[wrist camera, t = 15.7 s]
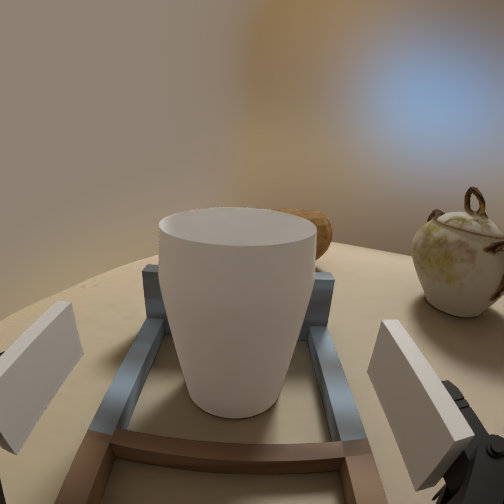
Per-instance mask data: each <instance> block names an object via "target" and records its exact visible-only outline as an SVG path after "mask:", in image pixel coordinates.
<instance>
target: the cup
mask: <svg viewBox="0 0 504 504" xmlns="http://www.w3.org/2000/svg"><path fill="white" fill-rule="evenodd" d="M316 236H317V228H316V226H315V225H314V224H313V223H312V222H311V221H309V220H307V219H305V218H302V217H299V216H296V215H293V214H289V213H285V212H280V211H274V210H266V209H257V208H245V207H243V208H242V207H216V208H215V207H213V208H201V209H193V210H187V211H182V212H178V213H175V214H172V215H169V216H167V217H165V218H163V219H162V220H161V221H160V223H159V267H158V277H159V284H160V289H161V293H162V297H163V302H164V306H165V310H166V314H167V318H168V322H169V326H170V329H171V333H172V337H173V341H174V344H175V348H176V352H177V355H178V359H179V362H180V366H181V369H182V372H183V376H184V379H185V382H186V385H187V389H188V392H189V395H190V397H191V399H192V400H193V401H194V403H195V404H196V405H197V406H199V407H200V408H201V409H203V410H204V411H206V412H208V413H210V414H213V415H216V416H219V417H224V418H246V417H251V416H254V415H257V414H260V413H262V412H264V411H266V410H267V409H269V408H270V407H271V406H272V405H273V404H274V403H275V402H276V400H277V399H278V397H279V394H280V391H281V388H282V386H283V383H284V380H285V377H286V374H287V371H288V368H289V365H290V362H291V359H292V356H293V353H294V349H295V346H296V343H297V340H298V337H299V334H300V330H301V327H302V324H303V321H304V317H305V314H306V311H307V307H308V304H309V300H310V297H311V293H312V290H313V285H314V280H315V258H316Z"/></svg>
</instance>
